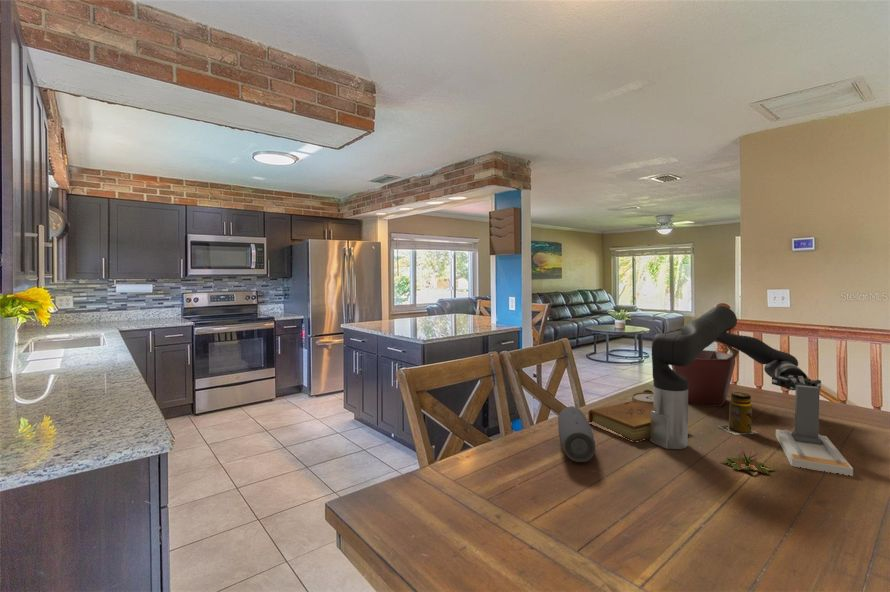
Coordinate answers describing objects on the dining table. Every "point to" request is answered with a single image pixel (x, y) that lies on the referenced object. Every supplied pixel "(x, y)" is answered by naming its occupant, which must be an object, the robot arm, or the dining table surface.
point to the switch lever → (806, 414)
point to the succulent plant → (747, 463)
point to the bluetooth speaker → (576, 434)
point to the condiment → (740, 414)
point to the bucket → (709, 376)
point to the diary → (625, 419)
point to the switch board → (813, 454)
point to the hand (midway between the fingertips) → (802, 389)
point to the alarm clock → (643, 396)
